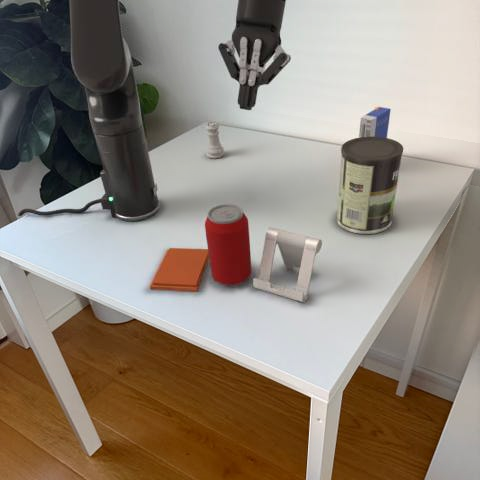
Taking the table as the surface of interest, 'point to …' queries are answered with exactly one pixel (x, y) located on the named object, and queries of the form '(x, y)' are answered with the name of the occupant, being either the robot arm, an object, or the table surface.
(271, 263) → the tablet stand
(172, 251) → the folded cloth
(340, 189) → the coffee can
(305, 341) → the table surface
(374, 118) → the walkman
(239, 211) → the beverage can
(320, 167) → the table surface
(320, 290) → the table surface
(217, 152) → the rook chess piece
